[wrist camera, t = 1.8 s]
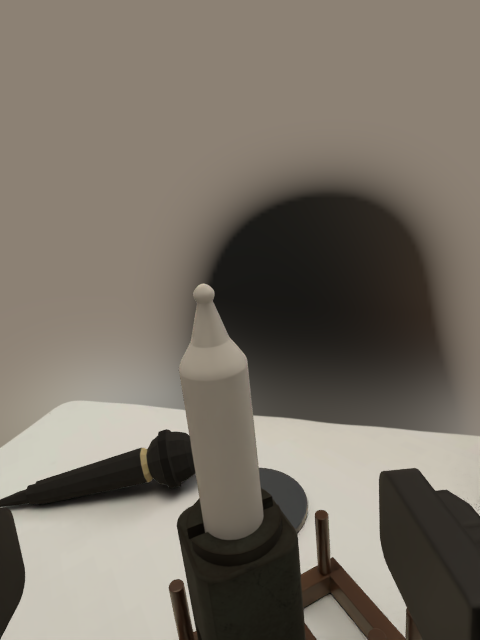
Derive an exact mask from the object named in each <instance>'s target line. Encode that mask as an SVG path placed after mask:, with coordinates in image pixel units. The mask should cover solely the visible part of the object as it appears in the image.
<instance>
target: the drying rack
mask: <svg viewBox="0 0 480 640" xmlns="http://www.w3.org/2000/svg"><path fill="white" fill-rule="evenodd" d="M315 526H316V543H317V559H318V566H316V567H314V568H312V569H310V570H308V571H307V572H305V573H303V574H301V586H302V599H303V608H304V607H306V606H307V605H309V604H311V603H313V602H314V601H316V600H318V599H320V598H321V597H323V596H325V595H327V594H328V593H330V592H331V593H332V595H333V596H334V597H335V598H336V600H337V601H338V602H339V603H340V605H341V606H342V607H343V608H344V610H345V611H346V612H347V613H348V615H349V616H350V617H351V618H352V620H353V621H354V622H355V623H356V624H357V626H358V627H359V628H360V629H361V631H362V632H363V633H364V634H365V636H366V637H367V638H368V640H423V639H422V637H421V635H420V633H419V631H418V629H417V627H416V625H415V623H414V621H413V618H412V616H411V614H410V612H409V610H408V608H407V609H406V639H405V638H404V636H403V635H402V634H401V633H400V632H399V631H398V630H397V629H396V627H395V626H394V625H393V624H392V623H391V622H390V621H389V620H388V618H387V617H386V616H385V615H384V614H383V613H382V612H381V611H380V609H379V608H378V607H377V606H376V605H375V604H374V603H373V602H372V600H371V599H370V598H369V597H368V596H367V595H366V594H365V593H364V591H363V590H362V589H361V588H360V587H359V586H358V585H357V584H356V583H355V581H354V580H353V579H352V578H351V577H350V576H349V575H348V574H347V572H346V571H345V570H344V569H343V568H342V567H341V566H340V565H339V563H338V562H337V561H336V560H335V559H334V558H333V557H332V558H330V540H329V520H328V513H327V512H326V511H324V510H319V511H317V512H316V513H315ZM294 529H295V528H294ZM295 530H296V529H295ZM169 592H170V597H171V602H172V607H173V612H174V617H175V621H176V626H177V631H178V636H179V640H198V637H197V632H196V631H195V632H193V629H192V624H191V619H190V613H189V608H188V603H187V597H186V592H185V587H184V583H183V581H182V580H179V579H176V580H174V581H172V582H171V583H170V585H169ZM304 624H305V622H304ZM305 637H306V640H316V638H315V637H314V636H313V634H312V633H311V631H310V630H309V628H308V627H307V625H306V624H305Z"/></svg>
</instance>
